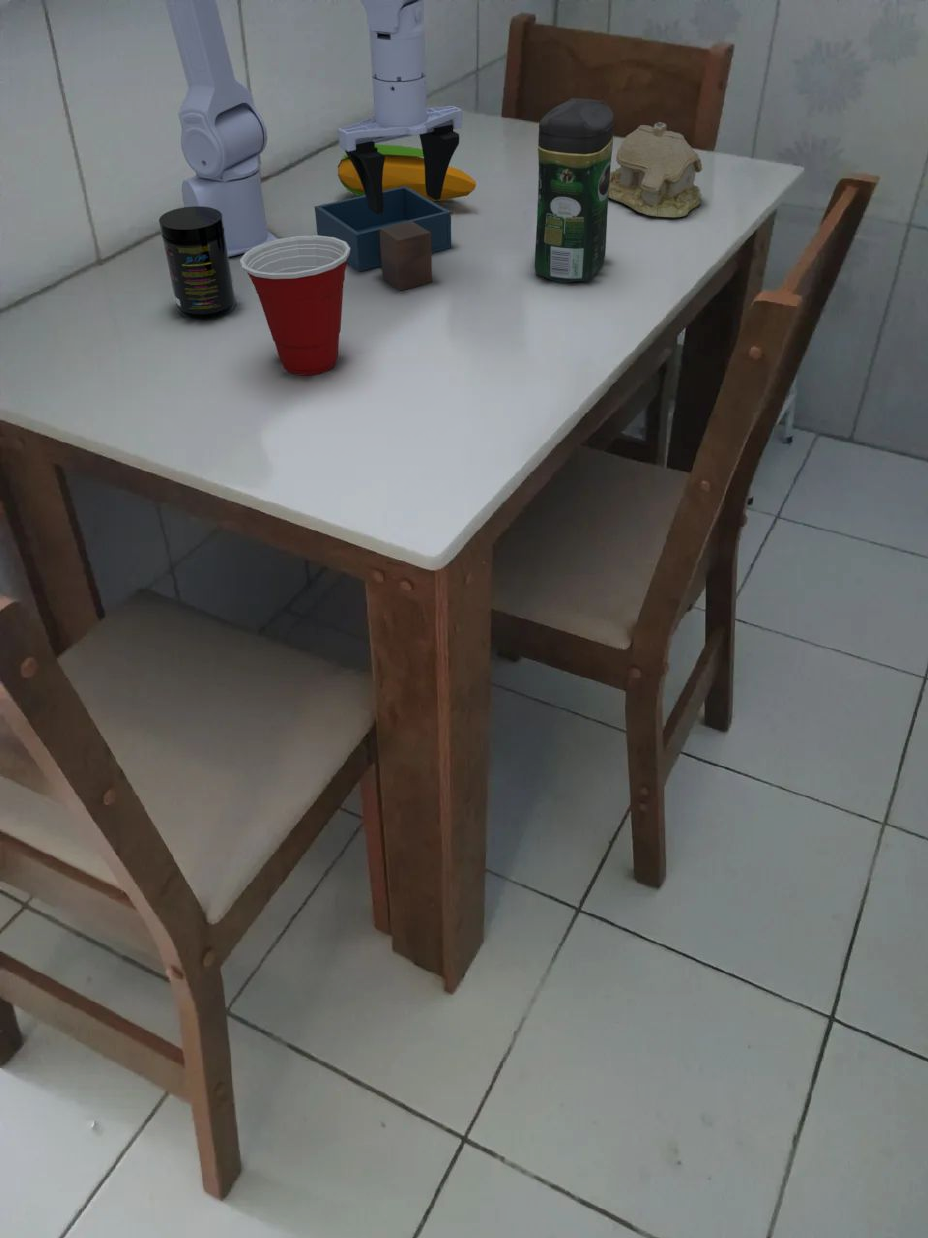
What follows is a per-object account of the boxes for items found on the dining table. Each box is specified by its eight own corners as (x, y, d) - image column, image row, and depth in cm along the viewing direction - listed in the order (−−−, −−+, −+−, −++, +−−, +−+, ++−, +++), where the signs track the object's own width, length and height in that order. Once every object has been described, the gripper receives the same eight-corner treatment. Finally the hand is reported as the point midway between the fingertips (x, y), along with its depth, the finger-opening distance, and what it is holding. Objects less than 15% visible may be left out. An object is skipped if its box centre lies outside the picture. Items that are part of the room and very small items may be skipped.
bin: (359, 271, 129) (356, 234, 126) (318, 241, 136) (314, 206, 133) (451, 247, 134) (451, 211, 131) (407, 219, 141) (405, 185, 138)
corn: (347, 128, 146) (485, 142, 141) (353, 184, 151) (486, 199, 146) (325, 149, 141) (467, 164, 136) (332, 205, 146) (469, 222, 141)
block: (400, 291, 124) (397, 240, 120) (382, 278, 127) (379, 228, 123) (432, 282, 126) (431, 232, 122) (413, 269, 129) (411, 220, 125)
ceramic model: (717, 201, 145) (729, 124, 138) (670, 224, 139) (679, 144, 132) (634, 177, 152) (641, 103, 146) (585, 199, 146) (590, 121, 140)
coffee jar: (549, 249, 133) (556, 89, 121) (610, 257, 131) (624, 95, 119) (525, 279, 126) (529, 113, 114) (589, 289, 124) (601, 120, 112)
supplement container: (246, 312, 121) (231, 220, 114) (189, 327, 118) (171, 234, 111) (223, 291, 125) (208, 201, 118) (168, 304, 122) (149, 214, 115)
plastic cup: (308, 329, 117) (296, 220, 109) (380, 357, 112) (373, 245, 104) (234, 366, 111) (215, 253, 103) (306, 398, 106) (292, 282, 98)
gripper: (356, 94, 107) (366, 228, 116) (476, 72, 113) (477, 201, 122) (324, 78, 112) (336, 208, 121) (441, 58, 118) (444, 183, 127)
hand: (405, 203), depth 122 cm, fingers open, 7 cm apart
